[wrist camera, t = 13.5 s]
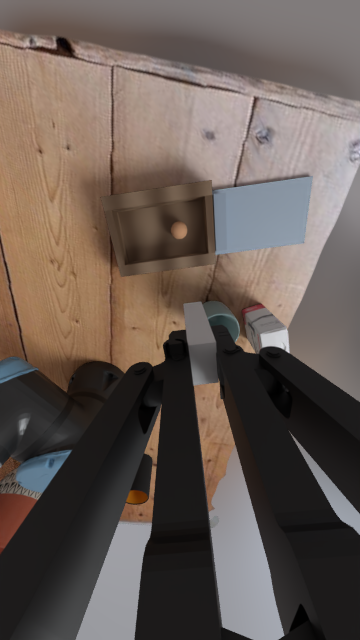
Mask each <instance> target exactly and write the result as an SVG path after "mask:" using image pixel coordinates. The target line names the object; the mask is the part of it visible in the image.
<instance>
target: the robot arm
mask: <svg viewBox="0 0 360 640" xmlns="http://www.w3.org/2000/svg"><path fill="white" fill-rule="evenodd" d="M183 305H184V315H185V325H186V330H178V331H172V332H171V334H170V335H169V340H167V341H166V342H165V343H164V344H163V349H164V354H165V361H164V362H162V363H161V364H159V365H156V366H153V367H152V365H151V364H150V363H148V362H139V363H136V364H134V365H132V366H131V367H130V368H129V369H128V370H127V371H126V373H125V374H124V373H123V372H122V371H121V370H120V369H119V368H117V367H116V366H114V365H111V364H109V363H105V362H89V363H86V364H83V365H82V366H80V367H79V368H78V369H77V370H76V371H75V372H74V374H73V375H72V377H71V379H70V381H69V386H68V390H67V393H66V392H65V391H63V390H62V389H61V388H60V387H58V386H57V385H56V384H55V383H53V382H52V381H51V380H50V379H49V378H47V377H46V376H45V375H44V374H43V373H41V372H40V371H39V370H38V368H37V367H34V366H32V365H31V364H29V363H28V362H26V361H25V360H24V359H22V358H20V357H9V358H6V359H4V360H2V361H0V468H1V466H2V465H3V464H4V463H5V462H6V461H7V459H8V458H9V457H12V458H13V459H15V460H17V461H19V462H20V463H21V464H20V466H19V467H18V468H17V472H16V477H15V478H16V481H18V484H19V485H21V486H22V487H24V488H26V489H28V490H31V491H35V492H40V493H42V494H41V496H40V497H39V499H38V500H37V502H36V503H35V505H34V506H33V508H32V509H31V510H30V512H29V513H28V515H27V516H26V518H25V519H24V521H23V522H22V523H21V525H20V526H19V528H18V529H17V531H16V532H15V534H14V535H13V536H12V538H11V539H10V541H9V542H8V544H7V545H6V547H5V548H4V549H3V551H2V552H1V554H0V640H75V639H76V636H77V634H78V631H79V628H80V626H81V623H82V620H83V617H84V615H85V612H86V609H87V607H88V604H89V601H90V598H91V595H92V593H93V590H94V588H95V584H96V582H97V579H98V577H99V574H100V571H101V568H102V566H103V563H104V560H105V558H106V555H107V552H108V549H109V547H110V544H111V541H112V539H113V536H114V533H115V530H116V527H117V525H118V522H119V519H120V517H121V514H122V511H123V509H124V506H125V503H126V500H127V498H128V495H129V492H130V489H131V487H132V484H133V481H134V479H135V476H136V473H137V470H138V468H139V465H140V462H141V460H142V457H143V454H144V451H145V449H146V446H147V443H148V440H149V438H150V435H151V432H152V430H153V427H154V424H155V421H156V419H157V416H158V413H159V411H160V408H161V419H160V431H159V444H158V456H157V469H156V481H155V493H154V506H153V518H152V529H151V535H150V538H149V540H148V542H147V544H146V547H145V552H144V557H143V563H142V571H141V581H140V590H139V600H138V610H137V620H136V631H135V640H252V639H250V638H247V637H245V636H242V635H240V634H237V633H235V632H232V631H230V630H227V629H225V628H223V627H222V620H221V612H220V604H219V595H218V588H217V580H216V572H215V563H214V554H213V546H212V537H211V529H210V520H209V512H208V503H207V495H206V486H205V478H204V469H203V461H202V452H201V444H200V435H199V427H198V418H197V410H196V402H195V393H194V385H200V384H209V383H217V382H218V378H219V381H220V396H221V399H223V401H224V405H225V409H226V412H227V416H228V419H229V423H230V427H231V430H232V434H233V438H234V441H235V445H236V448H237V452H238V455H239V459H240V463H241V466H242V470H243V474H244V477H245V481H246V485H247V488H248V492H249V495H250V499H251V503H252V506H253V510H254V513H255V517H256V521H257V524H258V528H259V531H260V535H261V539H262V542H263V546H264V549H265V553H266V557H267V561H268V564H269V569H270V573H271V579H272V585H273V590H274V596H275V600H276V605H277V608H278V612H279V616H280V620H281V624H282V628H283V631H284V635H285V636H283V637H282V638H281V639H279V640H360V535H359V534H358V533H357V532H356V531H355V530H354V529H353V527H350V526H349V525H348V524H346V523H344V522H342V521H341V520H340V518H339V517H338V516H337V515H336V513H335V512H334V510H333V508H332V507H331V505H330V503H329V502H328V500H327V498H326V496H325V494H324V492H323V491H322V489H321V487H320V486H319V484H318V482H317V480H316V478H315V477H314V475H313V473H312V471H311V469H310V468H309V466H308V464H307V462H306V461H305V459H304V457H303V455H302V454H301V452H300V450H299V448H298V446H297V445H296V443H295V441H294V440H293V438H292V436H291V434H292V435H293V436H294V437H295V438H296V440H297V441H298V442H299V443H300V444H301V446H302V447H303V448H304V449H305V450H306V451H307V452H308V454H309V455H310V456H311V457H312V458H313V459H314V461H315V462H316V463H317V464H318V465H319V467H320V468H321V469H322V470H323V471H324V472H325V474H326V475H327V476H328V477H329V478H330V479H331V481H332V482H333V483H334V484H335V485H336V486H337V488H338V489H339V490H340V491H341V492H342V494H343V495H344V496H345V497H346V498H347V499H348V500H349V502H350V503H351V504H352V505H353V506H354V508H355V509H356V510H357V511H358V512H359V513H360V402H359V401H357V400H356V399H354V398H353V397H352V396H350V395H349V394H347V393H346V392H344V391H343V390H341V389H340V388H339V387H337V386H336V385H334V384H333V383H331V382H330V381H329V380H327V379H326V378H324V377H323V376H321V375H320V374H318V373H317V372H316V371H314V370H313V369H311V368H310V367H308V366H307V365H305V364H304V363H302V362H301V361H300V360H298V359H297V358H295V357H294V356H293V355H291V354H290V353H288V352H287V351H285V350H284V349H282V348H279V347H275V346H267V347H263V348H261V349H260V351H259V354H255V353H247V352H244V351H243V349H242V348H241V347H240V346H238V345H236V344H235V342H234V340H233V338H232V336H231V335H230V333H229V331H228V329H227V327H225V326H224V325H214V326H210V324H209V321H208V319H207V316H206V313H205V310H204V308H203V305H202V302H201V301H200V302H193V303H185V304H183ZM161 404H162V407H161ZM289 431H290V432H289ZM290 433H291V434H290Z"/></svg>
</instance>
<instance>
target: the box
mask: <svg viewBox="0 0 360 640" xmlns="http://www.w3.org/2000/svg"><path fill="white" fill-rule="evenodd" d="M101 201H102V204H103V208H104V212H105V216H106V220H107V224H108V228H109V232H110V236H111V240H112V244H113V247H114V251H115V255H116V259H117V263H118V267H119V271H120V275H121V277H124V276H131V275H138V274H146V273H153V272H160V271H168V270H175V269H182V268H190V267H197V266H204V265H212V264H216V256H215V236H214V217H213V198H212V180H209V181H202V182H196V183H189V184H182V185H176V186H169V187H163V188H156V189H150V190H143V191H137V192H130V193H124V194H117V195H110V196H104V197H101ZM178 221H181V222H183V223H184V224H185V225H186V227H187V234H186V236H185V237H184V238H182V239H176V238H174V237H173V235H172V233H171V227H172V225H173V224H174V223H175V222H178Z"/></svg>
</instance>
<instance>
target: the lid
mask: <svg viewBox="0 0 360 640" xmlns="http://www.w3.org/2000/svg"><path fill="white" fill-rule="evenodd" d="M312 178H313V176H310V177H303V178H296V179H289V180H282V181H275V182H268V183H261V184H254V185H247V186H240V187H233V188H226V189H219V190H212V198H213V217H214V236H215V255H218V254H225V253H233V252H240V251H248V250H256V249H263V248H271V247H279V246H286V245H294V244H301V243H304V240H305V232H306V224H307V217H308V209H309V201H310V194H311V186H312Z"/></svg>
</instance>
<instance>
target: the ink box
mask: <svg viewBox="0 0 360 640" xmlns="http://www.w3.org/2000/svg"><path fill="white" fill-rule="evenodd" d="M242 313H243V318H244V324H245V329H246V334H247V339H248V341H249V342H250V344H251V346H252V347H253V349H254V351H255V352H256V354H259V351H260V349H261V348H263V347H267V346H275V347H279V348H282V349H284V350H285V351H287V352H288V353H290V352H289V337H288V330H287V329H286V326H285V325H284V324H283V323H281V322H280V321H279V320H278V319H277V318H276V317H275V316H274V315H273V314H272V313H271V312H270V311H269V310H268V309H267V308H265V307H264V306H263V305H262V304H259V305H255V306H252V307H248V308H245V309H243V310H242Z"/></svg>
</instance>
